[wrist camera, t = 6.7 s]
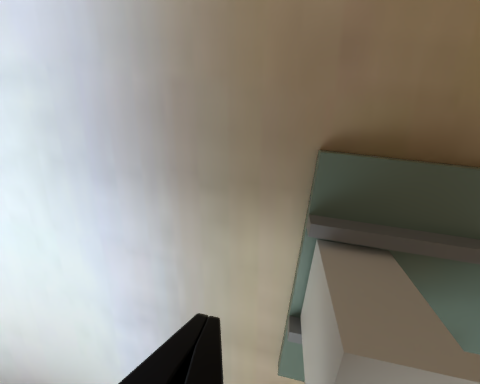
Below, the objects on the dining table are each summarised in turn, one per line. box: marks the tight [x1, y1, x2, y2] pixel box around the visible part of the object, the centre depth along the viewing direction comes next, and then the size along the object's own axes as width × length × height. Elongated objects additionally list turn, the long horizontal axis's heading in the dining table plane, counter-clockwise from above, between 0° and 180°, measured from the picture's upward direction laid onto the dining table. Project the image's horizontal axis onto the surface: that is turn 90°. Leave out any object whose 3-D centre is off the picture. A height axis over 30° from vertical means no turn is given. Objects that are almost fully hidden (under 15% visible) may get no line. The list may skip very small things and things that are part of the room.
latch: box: [300, 239, 480, 384], centre depth 8 cm, size 4×6×6 cm
